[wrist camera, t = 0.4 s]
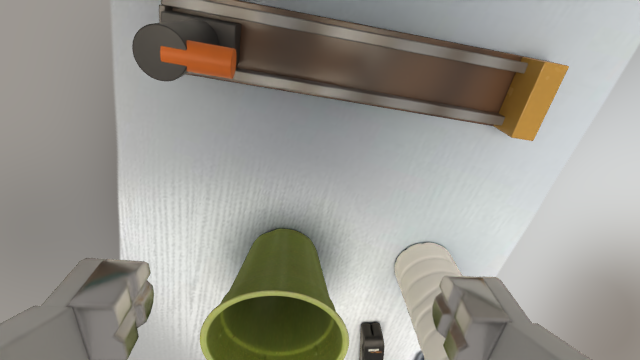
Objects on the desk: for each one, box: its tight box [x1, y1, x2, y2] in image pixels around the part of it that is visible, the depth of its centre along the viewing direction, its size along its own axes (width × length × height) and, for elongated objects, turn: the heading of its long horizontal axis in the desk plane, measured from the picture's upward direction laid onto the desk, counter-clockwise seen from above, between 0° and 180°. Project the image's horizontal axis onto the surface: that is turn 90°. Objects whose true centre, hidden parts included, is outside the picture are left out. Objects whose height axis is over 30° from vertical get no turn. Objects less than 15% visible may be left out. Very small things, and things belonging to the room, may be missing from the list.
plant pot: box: [200, 229, 349, 360], centre depth 32 cm, size 12×12×11 cm
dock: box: [494, 57, 569, 141], centre depth 28 cm, size 2×6×3 cm, turn 170°
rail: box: [159, 0, 554, 126], centre depth 27 cm, size 31×6×3 cm, turn 80°
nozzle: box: [133, 11, 241, 81], centre depth 22 cm, size 6×3×10 cm, turn 80°
